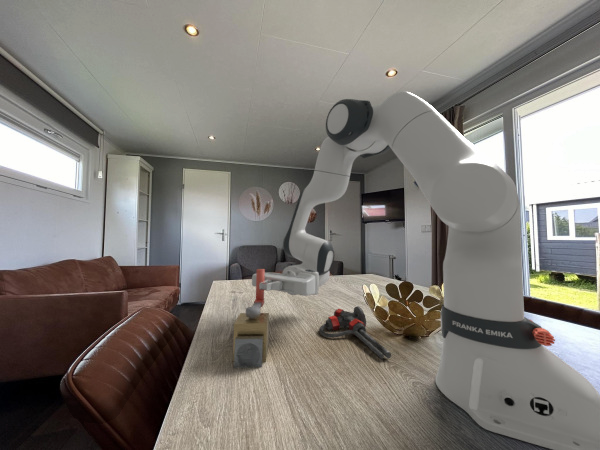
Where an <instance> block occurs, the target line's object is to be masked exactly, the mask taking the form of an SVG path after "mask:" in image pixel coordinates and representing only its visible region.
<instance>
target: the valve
mask: <svg viewBox="0 0 600 450" xmlns="http://www.w3.org/2000/svg"><path fill="white" fill-rule="evenodd" d="M366 327H367V318H366V314H365V313H364V310H363V309H362V308H361V307H360V306H355V307H353V311H352V312H350V311H346V310H344V309H342V308H337V309H336V310H335V309H334V312H333V315H332V316H328V318H327V319H326V320H325V323H323V324H322V325H321V326H320V327H319V328H318V329H319V331H318V332H319V334H320V335H321V336H323V337H325V338H331V339H332V338H334V339H335V338H339V337H343V336H346V335H353V336H354V337H357V338H358V339H359V340H360V341H362V342H363V343H364V344H365V346H367V347H368V348H369V349H371V351H372V352H373V353H374V354H375V355H377V356H378V357H379V358H380V359H381V360H382V359H384V357H385V358H387V359H391V357H392V353H391V352H390V351H389V350H387V349H386V348H385V347H384V346H383V345H381V344H380V343H379V342H378V341H377V340H376V339H374V338H373V337H372V336H371V335H370V334H368V333H367V328H366ZM325 328H326V329H327V330H328V331H333V330H335V331H340V328H341V329H342V328H348V329H347V330H344V331H340V332H335V333H328V332H325V331H324V329H325Z"/></svg>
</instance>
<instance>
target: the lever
mask: <svg viewBox="0 0 600 450" xmlns="http://www.w3.org/2000/svg"><path fill="white" fill-rule="evenodd" d="M265 270H266V269H265V268H256V272H255V274H256V286H255V299H254V301H253V304H252V305H251V306H249V307H247V308H245V313H246V317H249V318H255V317H259V316H260V313H261V308H262V307H263V306H264V304H265V290H261V289H259V284H260V283H261V282H264V278H265V272H266V271H265Z"/></svg>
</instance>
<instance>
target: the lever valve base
mask: <svg viewBox="0 0 600 450" xmlns="http://www.w3.org/2000/svg"><path fill="white" fill-rule="evenodd" d="M269 326H270V312H260V316H259V317H255V318H249V317H246V312H240V313H239V315H238V317H237V318H236V319H235V321H234V324H233V347H232V348H233V349H232V363H233V368H234V369H235V368H262V367H263V363H265V362H266V363H267V358H268V352H269V351H268V350H269V335H270V334H269V333H270V331H269V329H270V327H269Z"/></svg>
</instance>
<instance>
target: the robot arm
mask: <svg viewBox="0 0 600 450" xmlns="http://www.w3.org/2000/svg"><path fill="white" fill-rule="evenodd" d="M325 132H326V134H327V137H326V138H325V139H323V141H322V143H321V145H320V148H319V150H318V154H317V157H316V161H315V162H316V163H315V166H314V171H313V175H312V177H311V180H310V181H309V183H308V185H306V186H305V187H303V188H302V190H301V192H300V194H299V197H298V199H297V202H296V205H295V208H294V211H293V215H292V218H291V221H290V225H289V228H288V230H287V231H286V234H285V236H284V237H283V241H282V248H283V252H284V254H285V255H286V256H287V257H290V258H293V259H295V260H298V261H300V262H301V263H300V264H294V265H288V266H286V267H284V269H283V270H282V272H281V273H280V272H279V273H278V272H269V271H268V272H266V271H265V278H264V282H261V283H260V284H259V289H261V290H264V291H268V292H269V291H277V292H281V293H282V292H283V293H287V294H288V295H290V296H304V297H307V296H317V295H319V292H320V288H321V287H322V286H323V285H326V283H327V282H328V281H329V280H330V279H329V277H330V274H331V273H330V270H331V268H332V266H333V264H334V261H335V250H334V247H333V245H332V243H331V242H330V241H329V240H327V239H324V238H321V237H317V236H315V235H312V234H310V233H307V231H306V227H307V225H308V221H309V218H310V215H311V213H312V210H313V209H314V208H315V207H316V206H318V205H321V204H326V203H327V204H328V203H331V202H334V201H337V200H339V199H340V198H342V197H343V196H344V195H345V193H346V191H347V189H348V186H349V183H350V177H351V172H352V167H353V165H354V164H353V163H354V162H355V160H356V159H357V158H358V157H359V156H360V157H361V158H363V159H365V158H366V159H367V158H370V157H374V156H379V155H383V154H385V153H387V152H389V151H390V150H392V152H393V153H394V155H395V156H396V157H397V158H398V160H399V161H400V162H401V164H403V166H404V168H405V169H406V170H407V171H408V173H409V174H410V175H411V176H412V178H413V180H415V181H414V182H415V183H416V184H417V186H418V188H419V191H421V193H422V195H423V196H424V197H425V199H426V201H427V202H428V204H429V206H430V207H431V208H432V210H433V211H434V212H435V214H436V215H437V217H438V218H439V220H440V221H441V222H443V223H444V224H445V225H446V226H448V234H447V244H446V249H445V254H444V255H445V256H444V258H443V262H442V279H443V281H442V282H443V304H442V305H441V310H440V331H441V336H442V347H441V353H440V354H441V355H440V362H439V365H438V370H437V372H436V374H435V379H434V381H435V384H436V386H437V388H438V390H439V391H440V392H441V393H442V394H443V395H444V396H445V397H446V398H447V399H448V400H450V401H451V402H453V403H454V404H455V405H456V406H458V407H459V408H461V409H462V410H463V411H465V412H466V413H467V414H468V415H469V416H470V417H471V418H472V420H473V421H475V422H476V424H477V425H479V426H480V427H481V428H483V429H484V430H487V431H489V432H492V433H495V434H499V435H502V436H506V437H509V438H513V439H516V440H518V441H519V440H520V441H522V442H526V443H529V444H532V445H537V446H539V447H543V448H546V449H549V450H600V393H599V392H598V390H597V389H596V388H595V387H594V385H593V384H592V383H591V382H590V381H589V380H588V379H587V378H586V377H585V376H584V375H583V374H582V373H580V372H579V371H578V370H576V369H575V368H573V367H572V366H571V365H570V364H569V363H567V362H565V361H564V360H563V359H562V358H560V357H559V356H557V355H556V354H555V353H554V352H553V351H551V350H549V349H548V348H547V347H551V346H552V345H553V344H554V345H555V341H556V339H555V337H554V335H552V333H551V332H550V331H549V330H548V329H545V328H543V327H542V326H541V325H539V323H536V322H534V321H533V320H532V319H529V318H527V317H525V305H524V304H525V303H524V288H523V287H524V285H523V259H522V258H523V256H522V255H523V254H522V231H521V230H522V229H521V227H522V225H521V224H522V223H521V203H520V199H519V193H518V191H517V186H516V184H515V182H514V180H513V179H512V178H511V176H510V175H509V174H507V172H505V170H503V168H501V167H500V166H499V165H497V164H496V163H495V162H494V161H493V160H492V159H491V158H490V157H488V156H487V155H486V154H485V153H484V152H482V151H481V150H480V149H479V148H478V147H477V146H475V145H474V144H473V143H472V142H470V141H469V140H468V139H467V138H465V137H464V136H463V135H462V134H461V133H460V132H459V130H457V129H456V128H455V127H454V126H453V125H452V124H451V123H450V122H449V121H448V120H447V119H446V118H445V117H444V116H443V115H442V114H440V112H438V111H437V109H435V108H434V107H433V106H432V105H431V104H429V103H428V101H425V100H424V99H423V98H421V97H419V96H417V95H416V94H414V93H411V92H409V91H404V90H402V91H398V92H395V93H393V94H391V95H389V96H388V97H387V98H386V99H385V100H384V101H383V102H382V103H381V104H380V105H377V106H375V105H372V103H371V102H370V100H360V99H353V98H344V99H343V98H342V99H341V100H339V101H337V102H336V103H334V104H333V106H332V107H331V108H330V109H329V112H328V114H327V116H326V120H325ZM251 286H252V287H256V273H253V274H252V277H251Z"/></svg>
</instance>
